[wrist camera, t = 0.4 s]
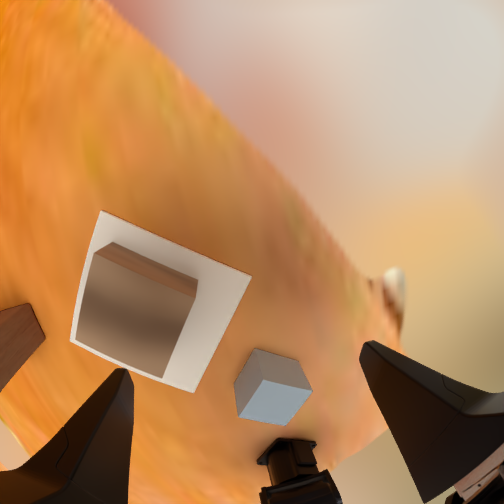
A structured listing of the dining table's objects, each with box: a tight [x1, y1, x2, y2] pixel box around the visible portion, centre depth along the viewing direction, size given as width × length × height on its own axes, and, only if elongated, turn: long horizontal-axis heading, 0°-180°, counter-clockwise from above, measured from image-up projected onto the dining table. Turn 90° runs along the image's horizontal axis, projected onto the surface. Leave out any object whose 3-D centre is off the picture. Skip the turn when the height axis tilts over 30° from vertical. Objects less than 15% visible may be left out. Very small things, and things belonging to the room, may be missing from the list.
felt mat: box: [70, 210, 252, 393], centre depth 23 cm, size 14×14×1 cm
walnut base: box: [75, 242, 198, 378], centre depth 20 cm, size 8×8×4 cm
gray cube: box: [234, 348, 313, 426], centre depth 24 cm, size 5×5×5 cm
